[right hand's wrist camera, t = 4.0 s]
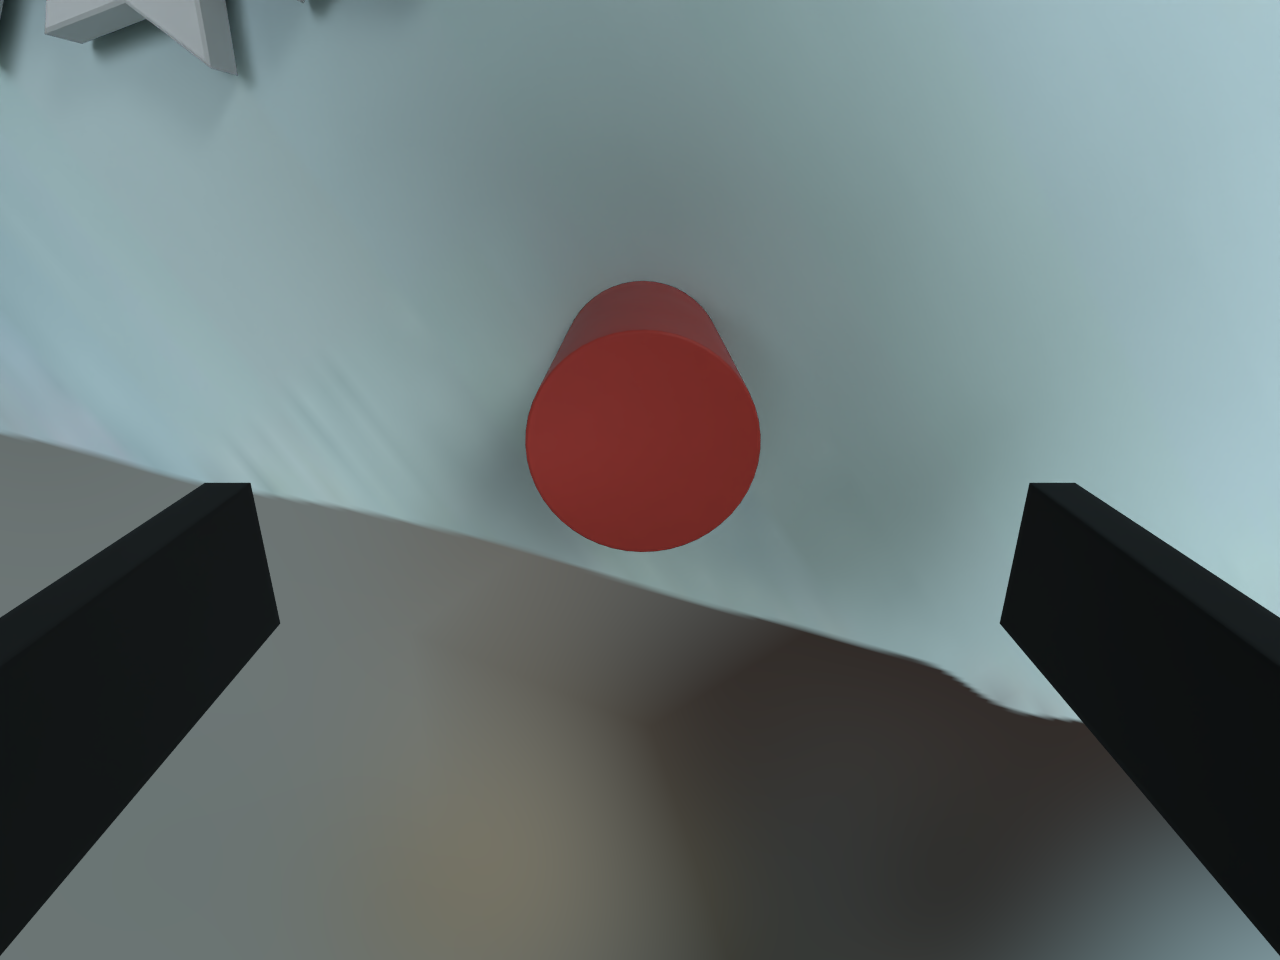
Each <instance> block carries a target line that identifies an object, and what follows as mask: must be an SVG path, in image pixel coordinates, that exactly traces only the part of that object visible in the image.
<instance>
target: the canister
mask: <svg viewBox="0 0 1280 960" xmlns="http://www.w3.org/2000/svg"><path fill="white" fill-rule="evenodd" d="M760 436H761V434H760V426H759V419H758V416H757V412H756V408H755V405H754V403H753V400H752V398H751V396H750V393H749V391H748V389H747V387H746V385H745V383H744V382H743V380H742V378H741V376H740V374H739V372H738V370H737V368H736V366H735V364H734V362H733V360H732V359H731V357H730V355H729V353H728V351H727V349H726V347H725V345H724V343H723V341H722V339H721V337H720V336H719V334H718V332H717V330H716V328H715V326H714V324H713V322H712V321H711V319H710V317H709V316H708V314H707V313H706V312H705V311H704V309H703V308H702V307H701V306H700V305H699V304H698V303H697V302H696V301H695V300H694V299H692V298H691V297H690V296H688V295H687V294H686V293H684V292H682V291H680V290H678V289H676V288H674V287H671V286H669V285H666V284H662V283H657V282H649V281H635V282H628V283H623V284H620V285H617V286H614V287H611V288H609V289H607V290H605V291H603V292H601V293H600V294H599V295H597V296H596V297H594V298H593V299H592V300H591V301H589V302H588V303H587V304H586V305H585V306H584V307H583V309H582V310H581V311H580V312H579V313H578V315H577V316H576V318H575V319H574V321H573V323H572V325H571V327H570V329H569V331H568V333H567V335H566V336H565V338H564V340H563V342H562V344H561V346H560V348H559V350H558V352H557V354H556V356H555V358H554V360H553V362H552V364H551V366H550V368H549V370H548V372H547V374H546V376H545V378H544V380H543V382H542V383H541V385H540V387H539V389H538V392H537V394H536V396H535V398H534V400H533V402H532V405H531V409H530V412H529V415H528V420H527V426H526V441H525V446H526V455H527V462H528V465H529V469H530V473H531V476H532V478H533V481H534V483H535V486H536V488H537V490H538V491H539V493H540V495H541V497H542V498H543V500H544V501H545V503H546V504H547V505H548V507H549V508H550V509H551V510H552V512H553V513H554V514H555V515H556V516H557V517H558V518H559V519H560V520H561V521H562V522H564V523H565V524H566V525H567V526H569V527H570V528H571V529H572V530H574V531H575V532H577V533H579V534H580V535H582V536H583V537H585V538H587V539H589V540H592V541H594V542H596V543H598V544H601V545H604V546H607V547H610V548H614V549H619V550H625V551H635V552H651V551H661V550H667V549H672V548H675V547H679V546H682V545H685V544H687V543H690V542H692V541H695V540H697V539H699V538H700V537H702V536H704V535H706V534H707V533H709V532H711V531H712V530H713V529H715V528H716V527H717V526H719V525H720V524H721V523H722V522H723V521H724V520H725V519H727V518H728V517H729V516H730V515H731V514H732V513H733V511H734V510H735V509H736V508H737V506H738V505H739V504H740V503H741V501H742V499H743V498H744V496H745V495H746V493H747V491H748V490H749V487H750V485H751V483H752V481H753V478H754V476H755V472H756V469H757V466H758V461H759V454H760Z"/></svg>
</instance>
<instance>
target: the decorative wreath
mask: <svg viewBox="0 0 1280 960" xmlns="http://www.w3.org/2000/svg"><path fill="white" fill-rule="evenodd" d="M3 1H4V0H0V18H1V12H2V7H3ZM298 1H300V2H302V3H304V1H305V0H298ZM145 19H147V20H149V21H150V22H151V23H152V24H154V25H155V26H156V27H158V28H159V29H160V30H162V31H163V32H164V33H166V34H167V35H168V36H170V37H171V38H172V39H173V40H175V41H176V42H177V43H179V44H180V45H181V46H183V47H184V48H185V49H187V50H188V51H189V52H190V53H192V54H193V55H194V56H196V57H197V58H198V59H200V60H201V61H202V62H204V63H205V64H206V65H208V66H209V67H210V68H212V69H215V70H219V71H223V72H226V73H230V74H234V75H237V76H238V74H237V67H236V61H235V55H234V49H233V43H232V37H231V31H230V25H229V19H228V13H227V7H226V1H225V0H46V18H45V34H46V35H50V36H54V37H58V38H62V39H66V40H70V41H74V42H77V43H81V44H83V43H85V42H88V41H90V40H93V39H96V38H98V37H101V36H103V35H106V34H109V33H111V32H114V31H116V30H119V29H122V28H124V27H127V26H129V25H132V24H135V23H137V22H140V21H142V20H145Z"/></svg>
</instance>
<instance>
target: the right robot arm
mask: <svg viewBox="0 0 1280 960" xmlns="http://www.w3.org/2000/svg"><path fill="white" fill-rule="evenodd" d="M279 624H280V620H279V616H278V611H277V606H276V601H275V597H274V592H273V587H272V583H271V578H270V573H269V568H268V564H267V559H266V554H265V550H264V545H263V540H262V535H261V531H260V526H259V521H258V516H257V512H256V507H255V502H254V497H253V493H252V488H251V483H204V484H203V485H201V486H200V487H198V488H196V489H195V490H193V491H192V492H190V493H189V494H187V495H186V496H184V497H183V498H181V499H180V500H178V501H177V502H175V503H174V504H172V505H171V506H169V507H168V508H166V509H165V510H163V511H162V512H160V513H159V514H157V515H156V516H154V517H152V518H151V519H149V520H148V521H146V522H145V523H143V524H142V525H140V526H139V527H137V528H136V529H134V530H133V531H131V532H130V533H128V534H127V535H125V536H124V537H122V538H121V539H119V540H118V541H116V542H115V543H113V544H112V545H110V546H108V547H107V548H105V549H104V550H102V551H101V552H99V553H98V554H96V555H95V556H93V557H92V558H90V559H89V560H87V561H86V562H84V563H83V564H81V565H80V566H78V567H77V568H75V569H73V570H72V571H71V572H69V573H68V574H66V575H64V576H63V577H61V578H60V579H58V580H57V581H55V582H54V583H52V584H51V585H49V586H48V587H46V588H45V589H43V590H42V591H40V592H39V593H37V594H36V595H34V596H32V597H31V598H30V599H28V600H26V601H25V602H23V603H22V604H20V605H19V606H17V607H16V608H14V609H13V610H11V611H10V612H8V613H7V614H5V615H4V616H2V617H1V618H0V955H1V954H2V953H3V952H4V951H5V949H6V948H7V947H8V946H9V945H10V943H11V942H12V941H13V940H14V939H15V938H16V936H17V935H18V934H19V933H20V932H21V930H22V929H23V928H24V927H25V926H26V924H27V923H28V922H29V921H30V920H31V918H32V917H33V916H34V915H35V914H36V913H37V911H38V910H39V909H40V908H41V907H42V905H43V904H44V903H45V902H46V901H47V900H48V898H49V897H50V896H51V895H52V894H53V892H54V891H55V890H56V889H57V888H58V886H59V885H60V884H61V883H62V882H63V881H64V879H65V878H66V877H67V876H68V875H69V873H70V872H71V871H72V870H73V869H74V867H75V866H76V865H77V864H78V863H79V862H80V860H81V859H82V858H83V857H84V856H85V854H86V853H87V852H88V851H89V850H90V848H91V847H92V846H93V845H94V844H95V843H96V841H97V840H98V839H99V838H100V837H101V835H102V834H103V833H104V832H105V831H106V829H107V828H108V827H109V826H110V825H111V823H112V822H113V821H114V820H115V819H116V818H117V816H118V815H119V814H120V813H121V812H122V811H123V809H124V808H125V807H126V806H127V805H128V803H129V802H130V801H131V800H132V799H133V797H134V796H135V795H136V794H137V793H138V791H139V790H140V789H141V788H142V787H143V786H144V784H145V783H146V782H147V781H148V780H149V778H150V777H151V776H152V775H153V774H154V773H155V771H156V770H157V769H158V768H159V767H160V765H161V764H162V763H163V762H164V761H165V760H166V758H167V757H168V756H169V755H170V754H171V752H172V751H173V750H174V749H175V748H176V746H177V745H178V744H179V743H180V742H181V740H182V739H183V738H184V737H185V736H186V735H187V733H188V732H189V731H190V730H191V729H192V727H193V726H194V725H195V724H196V723H197V722H198V720H199V719H200V718H201V717H202V716H203V714H204V713H205V712H206V711H207V710H208V708H209V707H210V706H211V705H212V704H213V703H214V701H215V700H216V699H217V698H218V697H219V695H220V694H221V693H222V692H223V691H224V689H225V688H226V687H227V686H228V685H229V684H230V682H231V681H232V680H233V679H234V678H235V676H236V675H237V674H238V673H239V672H240V670H241V669H242V668H243V667H244V666H245V665H246V663H247V662H248V661H249V660H250V659H251V657H252V656H253V655H254V654H255V653H256V651H257V650H258V649H259V648H260V647H261V646H262V644H263V643H264V642H265V641H266V640H267V638H268V637H269V636H270V635H271V634H272V633H273V631H274V630H275V629H276V628H277V627H278V625H279ZM1000 624H1001V625H1002V627H1003V628H1004V629H1005V630H1006V631H1007V633H1008V634H1009V635H1010V636H1011V637H1012V638H1013V640H1014V641H1015V642H1016V643H1017V644H1018V646H1019V647H1020V648H1021V649H1022V650H1023V652H1024V653H1025V654H1026V655H1027V656H1028V657H1029V659H1030V660H1031V661H1032V662H1033V663H1034V665H1035V666H1036V667H1037V668H1038V669H1039V671H1040V672H1041V673H1042V674H1043V675H1044V676H1045V678H1046V679H1047V680H1048V681H1049V682H1050V684H1051V685H1052V686H1053V687H1054V688H1055V689H1056V691H1057V692H1058V693H1059V694H1060V695H1061V697H1062V698H1063V699H1064V700H1065V701H1066V703H1067V704H1068V705H1069V706H1070V707H1071V708H1072V710H1073V711H1074V712H1075V713H1076V714H1077V716H1078V717H1079V718H1080V719H1081V720H1082V722H1083V723H1084V724H1085V725H1086V726H1087V727H1088V729H1089V730H1090V731H1091V732H1092V733H1093V735H1094V736H1095V737H1096V738H1097V739H1098V741H1099V742H1100V743H1101V744H1102V745H1103V746H1104V748H1105V749H1106V750H1107V751H1108V752H1109V754H1110V755H1111V756H1112V757H1113V758H1114V759H1115V761H1116V762H1117V763H1118V764H1119V765H1120V767H1121V768H1122V769H1123V770H1124V771H1125V773H1126V774H1127V775H1128V776H1129V777H1130V778H1131V780H1132V781H1133V782H1134V783H1135V784H1136V786H1137V787H1138V788H1139V789H1140V790H1141V792H1142V793H1143V794H1144V795H1145V796H1146V797H1147V799H1148V800H1149V801H1150V802H1151V803H1152V805H1153V806H1154V807H1155V808H1156V809H1157V811H1158V812H1159V813H1160V814H1161V815H1162V816H1163V818H1164V819H1165V820H1166V821H1167V822H1168V824H1169V825H1170V826H1171V827H1172V828H1173V829H1174V831H1175V832H1176V833H1177V834H1178V835H1179V837H1180V838H1181V839H1182V840H1183V841H1184V843H1185V844H1186V845H1187V846H1188V847H1189V849H1190V850H1191V851H1192V852H1193V853H1194V854H1195V856H1196V857H1197V858H1198V859H1199V860H1200V861H1201V863H1202V864H1203V865H1204V866H1205V867H1206V869H1207V870H1208V871H1209V872H1210V873H1211V875H1212V876H1213V877H1214V878H1215V879H1216V881H1217V882H1218V883H1219V884H1220V885H1221V886H1222V888H1223V889H1224V890H1225V891H1226V892H1227V894H1228V895H1229V896H1230V897H1231V898H1232V900H1233V901H1234V902H1235V903H1236V904H1237V905H1238V907H1239V908H1240V909H1241V910H1242V911H1243V913H1244V914H1245V915H1246V916H1247V917H1248V918H1249V920H1250V921H1251V922H1252V923H1253V924H1254V926H1255V927H1256V928H1257V929H1258V930H1259V932H1260V933H1261V934H1262V935H1263V936H1264V937H1265V939H1266V940H1267V941H1268V942H1269V943H1270V945H1271V946H1272V947H1273V948H1274V949H1275V951H1276V952H1277V953H1278V954H1279V955H1280V618H1279V617H1278V616H1276V615H1275V614H1273V613H1272V612H1270V611H1269V610H1267V609H1266V608H1264V607H1263V606H1261V605H1260V604H1258V603H1257V602H1255V601H1254V600H1252V599H1251V598H1249V597H1248V596H1246V595H1244V594H1243V593H1241V592H1240V591H1238V590H1237V589H1235V588H1234V587H1232V586H1231V585H1229V584H1228V583H1226V582H1225V581H1223V580H1222V579H1220V578H1219V577H1217V576H1216V575H1214V574H1213V573H1211V572H1210V571H1208V570H1207V569H1205V568H1203V567H1202V566H1200V565H1199V564H1197V563H1196V562H1194V561H1193V560H1191V559H1190V558H1188V557H1187V556H1185V555H1184V554H1182V553H1181V552H1179V551H1178V550H1176V549H1175V548H1173V547H1172V546H1170V545H1169V544H1167V543H1166V542H1164V541H1162V540H1161V539H1159V538H1158V537H1156V536H1155V535H1153V534H1152V533H1150V532H1149V531H1147V530H1146V529H1144V528H1143V527H1141V526H1140V525H1138V524H1137V523H1135V522H1134V521H1132V520H1131V519H1129V518H1128V517H1126V516H1125V515H1123V514H1121V513H1120V512H1118V511H1117V510H1115V509H1114V508H1112V507H1111V506H1109V505H1108V504H1106V503H1105V502H1103V501H1102V500H1100V499H1099V498H1097V497H1096V496H1094V495H1093V494H1091V493H1090V492H1088V491H1087V490H1085V489H1084V488H1082V487H1080V486H1079V485H1077V484H1076V483H1029V488H1028V493H1027V497H1026V502H1025V507H1024V512H1023V516H1022V521H1021V526H1020V530H1019V535H1018V540H1017V545H1016V549H1015V554H1014V559H1013V564H1012V568H1011V573H1010V578H1009V582H1008V587H1007V592H1006V597H1005V601H1004V606H1003V611H1002V616H1001V620H1000Z"/></svg>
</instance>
